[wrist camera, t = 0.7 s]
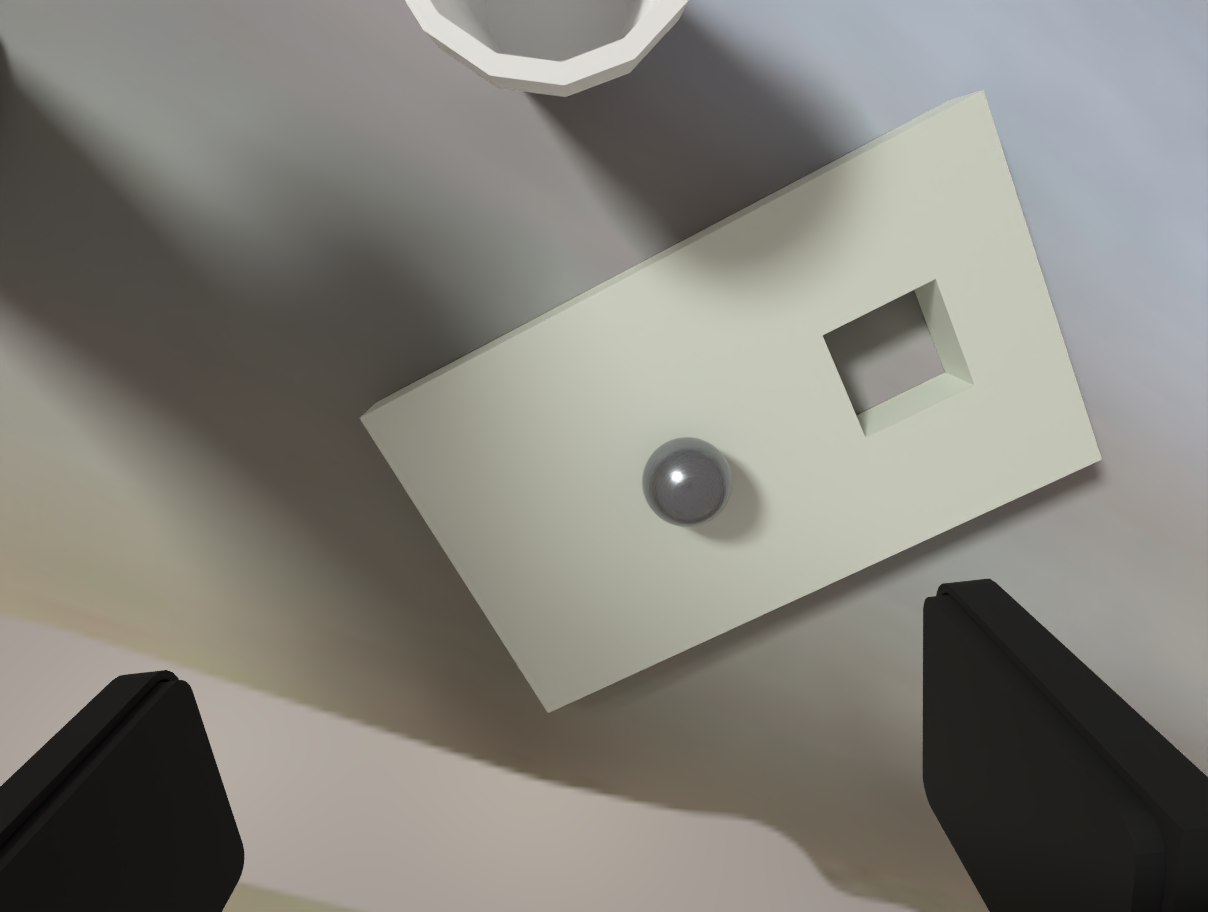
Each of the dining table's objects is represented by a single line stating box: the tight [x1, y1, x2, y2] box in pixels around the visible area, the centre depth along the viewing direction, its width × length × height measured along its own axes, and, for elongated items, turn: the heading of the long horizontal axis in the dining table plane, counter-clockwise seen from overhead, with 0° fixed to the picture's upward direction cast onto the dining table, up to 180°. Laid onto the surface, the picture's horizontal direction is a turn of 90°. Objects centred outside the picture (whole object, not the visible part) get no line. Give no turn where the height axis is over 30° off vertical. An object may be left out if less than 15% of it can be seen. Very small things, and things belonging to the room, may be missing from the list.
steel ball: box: [642, 437, 732, 527], centre depth 34 cm, size 4×4×4 cm
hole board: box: [360, 90, 1102, 713], centre depth 37 cm, size 30×18×3 cm, turn 117°
